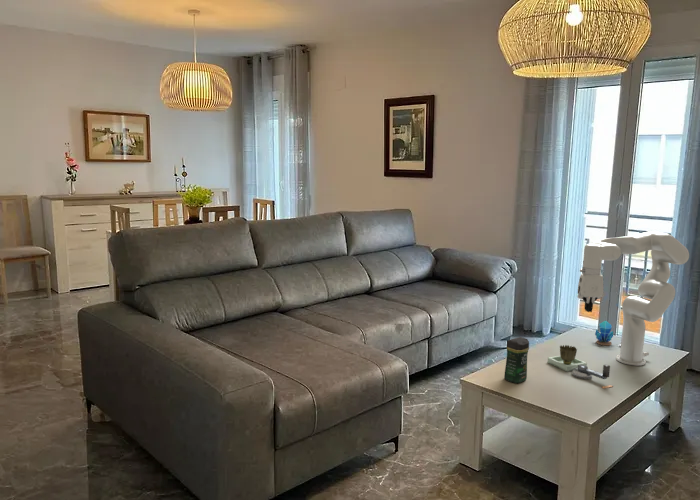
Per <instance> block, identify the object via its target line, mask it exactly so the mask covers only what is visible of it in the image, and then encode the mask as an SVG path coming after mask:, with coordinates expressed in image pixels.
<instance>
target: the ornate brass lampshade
mask: <svg viewBox="0 0 700 500" xmlns="http://www.w3.org/2000/svg"><path fill="white" fill-rule="evenodd" d="M577 350H578V348H577V347H576V346H572V345H569V344H568V345H567V344H565V345H564V344H563V345H559V356H561V359H562V360H563V363H564V364H566V365H570V364H571V363H572V362H571V361H573V360H574V359H575V358H576V357H577V356H576V355H577Z"/></svg>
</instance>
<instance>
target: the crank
mask: <svg viewBox="0 0 700 500" xmlns="http://www.w3.org/2000/svg"><path fill="white" fill-rule="evenodd" d="M578 371H580V372H585V373H588V374H591V375H592V377H596V378H599V379H601V380H606V379H608V378H609V377H610V373H611V372H610V371H611V366H610V365H609V364H603V366H602V372H598V371H595V370H593V369H590V368H588V365H587V366H585V365H578Z"/></svg>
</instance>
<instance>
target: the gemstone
mask: <svg viewBox="0 0 700 500" xmlns="http://www.w3.org/2000/svg"><path fill="white" fill-rule="evenodd" d="M598 324H599V326H598V327H599V330H598V329H596V328H595V333H594V335H595V338H596V344H597V345H599V346H605V347H606V346H608V347H610V346H612V338H613V337H614V331H613V330H612V327H613V326H612V324H611V323H609V322H608V321H607V320H604V321H602V322H599V323H598Z"/></svg>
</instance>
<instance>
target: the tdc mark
mask: <svg viewBox="0 0 700 500" xmlns="http://www.w3.org/2000/svg"><path fill="white" fill-rule="evenodd" d="M601 388H602V389H609V388H613V385H612V384H610V385H604V386H601Z"/></svg>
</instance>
